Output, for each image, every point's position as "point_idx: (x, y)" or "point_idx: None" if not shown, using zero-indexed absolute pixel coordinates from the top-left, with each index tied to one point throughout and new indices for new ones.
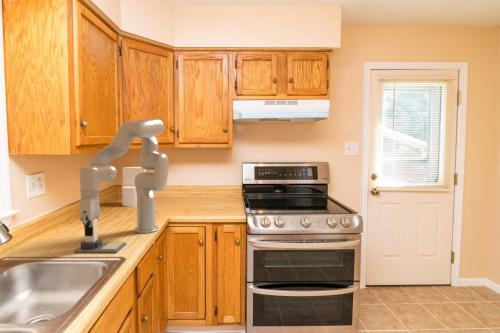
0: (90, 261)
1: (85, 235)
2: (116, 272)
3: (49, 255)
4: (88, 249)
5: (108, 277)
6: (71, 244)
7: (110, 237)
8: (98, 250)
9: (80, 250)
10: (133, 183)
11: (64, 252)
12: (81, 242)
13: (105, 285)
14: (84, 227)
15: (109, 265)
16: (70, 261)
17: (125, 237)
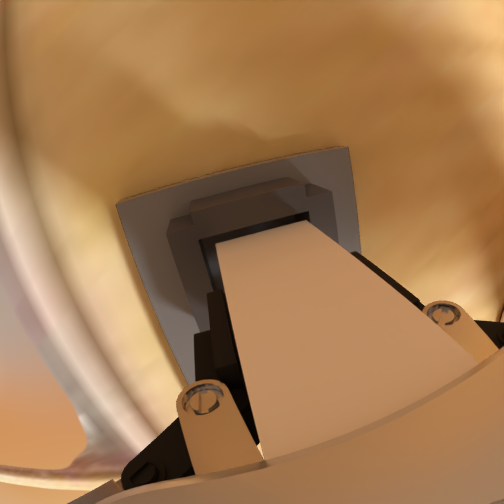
0: (65, 389)
1: (207, 299)
2: (65, 481)
3: (36, 67)
4: (179, 288)
5: (34, 474)
6: (308, 21)
7: (473, 207)
8: (185, 362)
9: (137, 246)
10: None
11: (110, 108)
12: (193, 220)
13: (11, 476)
14: (236, 339)
15: (85, 458)
16: (10, 299)
17: (467, 290)
